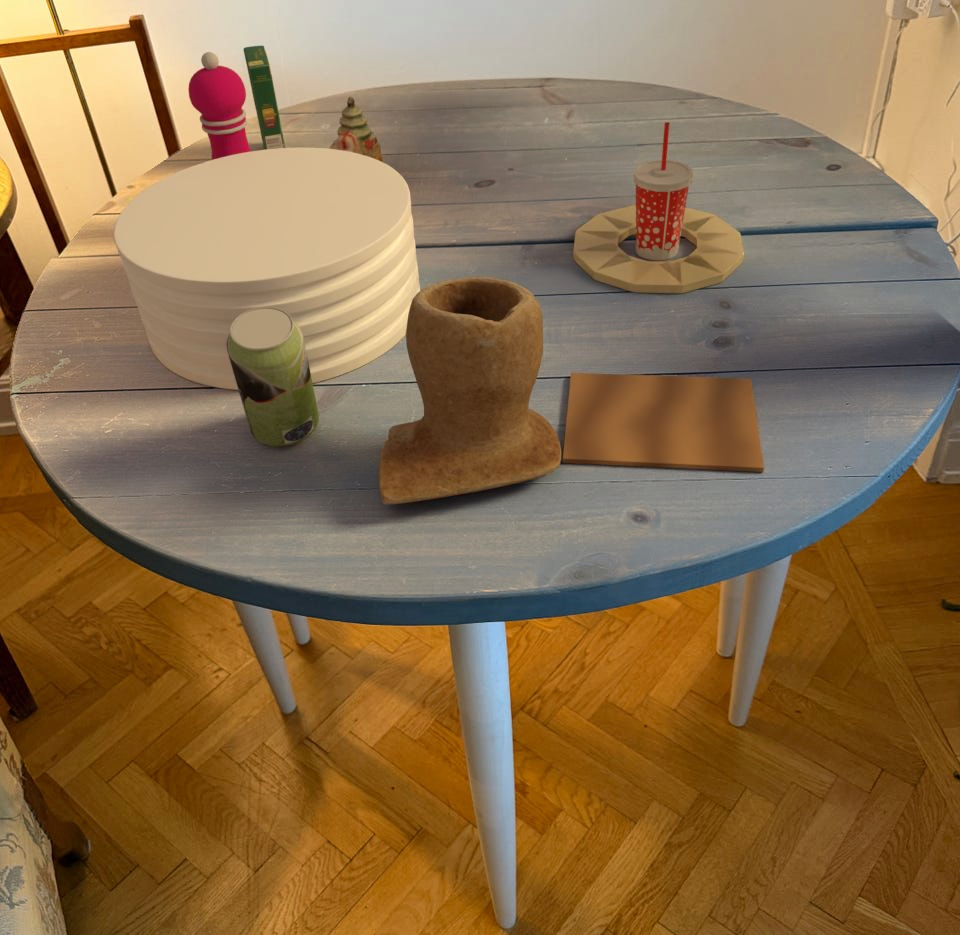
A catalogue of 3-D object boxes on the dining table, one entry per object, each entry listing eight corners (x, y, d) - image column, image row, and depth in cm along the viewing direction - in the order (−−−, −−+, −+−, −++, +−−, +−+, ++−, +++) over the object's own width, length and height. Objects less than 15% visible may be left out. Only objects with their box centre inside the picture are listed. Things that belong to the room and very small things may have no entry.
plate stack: (98, 380, 88) (56, 273, 81) (212, 239, 109) (187, 144, 101) (382, 400, 84) (365, 289, 76) (445, 249, 104) (437, 150, 97)
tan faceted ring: (735, 213, 107) (736, 205, 107) (748, 295, 94) (749, 286, 93) (578, 211, 110) (578, 203, 109) (569, 291, 96) (569, 282, 96)
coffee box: (289, 164, 124) (270, 62, 116) (268, 167, 124) (246, 66, 115) (283, 142, 130) (264, 43, 121) (263, 145, 130) (242, 46, 121)
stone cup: (537, 401, 83) (534, 249, 73) (574, 489, 74) (577, 329, 64) (367, 429, 81) (342, 277, 71) (385, 523, 72) (358, 364, 62)
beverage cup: (678, 234, 104) (690, 109, 95) (691, 261, 99) (705, 132, 90) (623, 239, 104) (630, 114, 95) (634, 266, 99) (642, 137, 90)
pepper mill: (207, 227, 111) (160, 54, 98) (258, 207, 115) (220, 37, 102) (237, 247, 107) (193, 69, 94) (290, 226, 111) (255, 50, 97)
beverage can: (307, 401, 84) (281, 285, 76) (336, 445, 79) (313, 326, 71) (240, 424, 82) (207, 307, 74) (266, 471, 77) (234, 352, 69)
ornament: (371, 191, 117) (360, 111, 110) (324, 190, 118) (311, 110, 111) (387, 164, 122) (378, 87, 116) (342, 163, 123) (331, 87, 117)
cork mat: (750, 383, 83) (751, 378, 83) (763, 472, 74) (764, 467, 74) (570, 376, 85) (571, 372, 85) (562, 463, 76) (562, 458, 76)
